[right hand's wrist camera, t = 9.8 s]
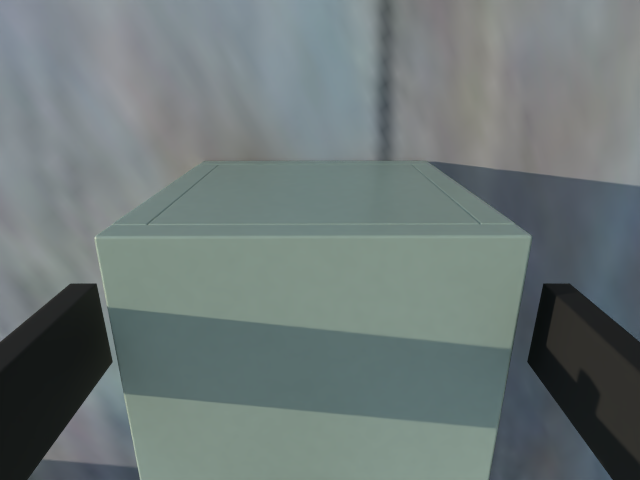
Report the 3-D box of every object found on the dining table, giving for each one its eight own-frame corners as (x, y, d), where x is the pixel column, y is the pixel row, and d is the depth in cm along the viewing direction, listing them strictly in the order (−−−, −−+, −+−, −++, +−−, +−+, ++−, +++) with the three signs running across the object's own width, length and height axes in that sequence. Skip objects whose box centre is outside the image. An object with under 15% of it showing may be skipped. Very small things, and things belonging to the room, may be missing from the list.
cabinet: (399, 484, 28) (447, 716, 18) (233, 486, 28) (184, 719, 18) (427, 160, 21) (534, 235, 11) (203, 160, 21) (92, 236, 11)
